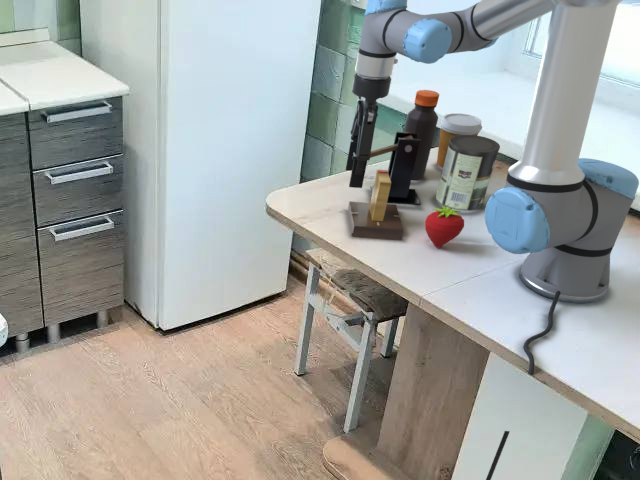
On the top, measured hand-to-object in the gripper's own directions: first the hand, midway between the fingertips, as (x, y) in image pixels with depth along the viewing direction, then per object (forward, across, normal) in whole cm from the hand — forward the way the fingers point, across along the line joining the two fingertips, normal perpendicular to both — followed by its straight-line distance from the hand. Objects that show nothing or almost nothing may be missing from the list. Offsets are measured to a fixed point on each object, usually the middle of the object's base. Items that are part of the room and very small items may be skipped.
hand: (353, 178), depth 178 cm
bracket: (+4, 0, -10) cm, 11 cm away
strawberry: (+5, -22, -16) cm, 27 cm away
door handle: (-6, 0, -6) cm, 8 cm away
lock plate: (+4, -14, -4) cm, 15 cm away
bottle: (+5, +13, -15) cm, 20 cm away
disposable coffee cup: (+5, +21, -26) cm, 34 cm away
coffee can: (+5, 0, -24) cm, 24 cm away
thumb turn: (+2, -14, -4) cm, 15 cm away
